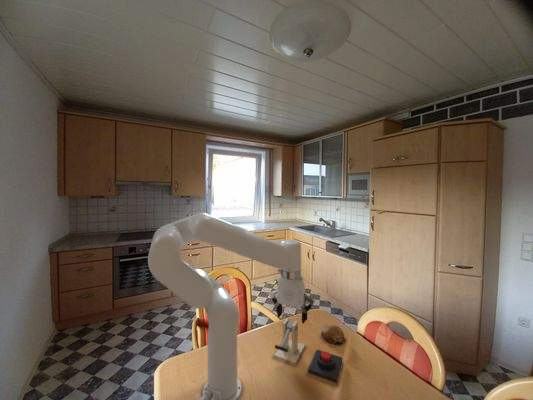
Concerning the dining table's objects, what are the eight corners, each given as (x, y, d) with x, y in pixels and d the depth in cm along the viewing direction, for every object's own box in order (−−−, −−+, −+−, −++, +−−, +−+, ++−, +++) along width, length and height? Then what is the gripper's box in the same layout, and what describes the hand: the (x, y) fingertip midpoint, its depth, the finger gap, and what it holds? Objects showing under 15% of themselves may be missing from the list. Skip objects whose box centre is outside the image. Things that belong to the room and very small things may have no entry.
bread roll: (342, 343, 106) (340, 323, 109) (347, 347, 97) (345, 325, 100) (320, 342, 107) (319, 322, 110) (323, 345, 98) (322, 324, 101)
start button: (329, 364, 83) (329, 359, 83) (319, 360, 85) (319, 356, 85) (331, 357, 87) (331, 353, 86) (322, 354, 88) (322, 350, 88)
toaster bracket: (295, 366, 87) (295, 333, 87) (274, 358, 91) (274, 326, 91) (305, 347, 98) (305, 318, 97) (285, 341, 102) (285, 312, 102)
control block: (336, 385, 78) (336, 374, 78) (308, 375, 83) (308, 364, 83) (342, 362, 89) (342, 352, 89) (316, 354, 93) (316, 345, 93)
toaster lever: (287, 354, 85) (286, 349, 84) (275, 350, 87) (274, 345, 86) (297, 327, 95) (296, 323, 94) (286, 324, 97) (285, 320, 96)
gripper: (266, 273, 86) (266, 318, 87) (311, 280, 78) (311, 329, 79) (274, 267, 93) (274, 309, 93) (316, 273, 85) (316, 318, 86)
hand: (291, 318), depth 86 cm, fingers open, 9 cm apart
